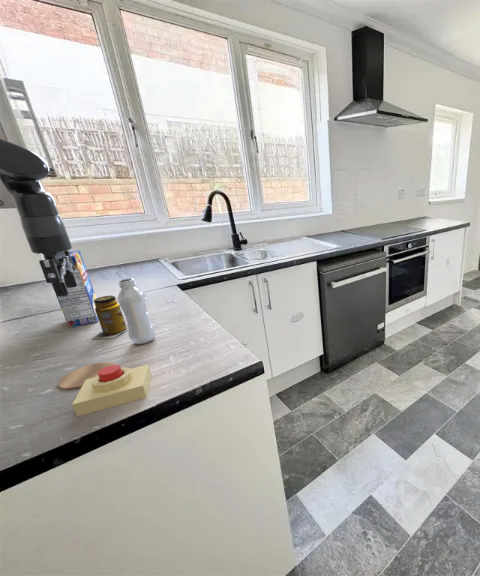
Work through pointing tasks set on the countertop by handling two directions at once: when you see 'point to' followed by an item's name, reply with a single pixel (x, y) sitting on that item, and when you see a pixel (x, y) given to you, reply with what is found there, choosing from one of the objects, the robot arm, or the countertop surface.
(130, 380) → the button base
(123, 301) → the plastic bottle
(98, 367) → the coaster
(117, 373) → the red button cap
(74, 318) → the blue cardboard box
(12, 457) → the countertop surface
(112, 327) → the condiment
